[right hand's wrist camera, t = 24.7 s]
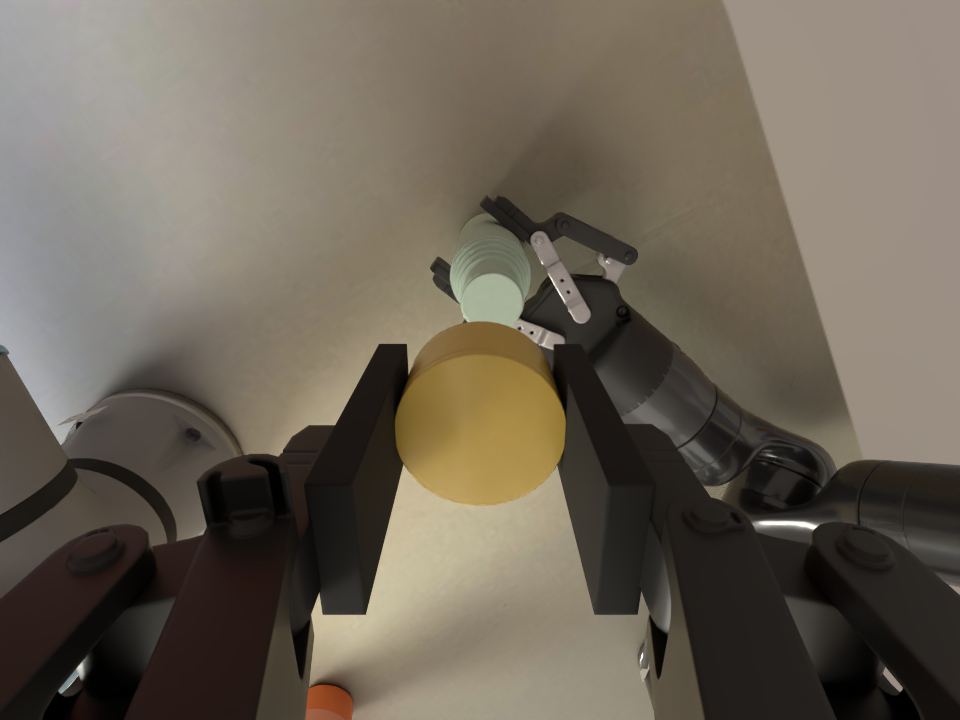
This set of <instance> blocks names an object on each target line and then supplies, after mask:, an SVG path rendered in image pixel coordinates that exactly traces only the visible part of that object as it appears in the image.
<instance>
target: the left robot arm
mask: <svg viewBox="0 0 960 720" xmlns="http://www.w3.org/2000/svg"><path fill="white" fill-rule="evenodd" d="M480 206H481V207H482V208H483V209H484V210H486V211H487V212H488V213H489V214H490V215H491V216H493V217H494V218H495V219H496V220H497V221H498V222H500V223H501V224H502V225H503V226H504V227H505V228H507V229H508V230H509V231H510V232H512V233H513V234H514V235H515V236H516V237H517V238H518V239H520V240H521V241H522V242H523V243H524V242H525V240H526V241H527V242H528V243H529V244H530V245H531V246H532V247H533V249H534V251H535V253H536V254H537V256H538V258H539V260H540V261H541V263H542V265H543V266H544V268H545V270H546V272H547V273H548V275H549V277H547V278H546V279H545V280H544V282H543V283H542V284H541V285H540V287H539V289H538V291H537V293H536V295H534V296H533V297H531V298H530V299H529V300H527V301H526V302H525V303H524V307H523V311H522V313H521V315H520V317H519V318H518V320H517V321H516V322H515V323H514V324H513V327H512V328H514V329H516V330H518V331H520V332H522V333H523V334H525V335H526V336H528V337H529V338H530V339H531V340H533V341H534V342H535V343H536V344H537V346H538V347H539V348H540V349H541V350H542V352H543V353H544V354H545V356H546V358H547V360H548V362H549V364H550V367H551V370H552V364H553V346H554V344H581V345H582V347H583V348H584V350H585V352H586V354H587V356H588V358H589V360H590V361H591V363H592V365H593V367H594V369H595V371H596V372H597V374H598V376H599V378H600V380H601V382H602V384H603V385H604V387H605V389H606V391H607V393H608V395H609V397H610V398H611V400H612V402H613V404H614V406H615V408H616V409H617V411H618V413H619V415H620V417H621V419H622V421H623V422H624V424H653V425H654V426H656V427H657V428H659V429H660V430H661V431H663V432H664V433H666V434H667V435H669V437H670V438H671V440H672V441H673V443H674V444H675V445H676V447H677V448H678V451H680V453H681V454H682V456H683V457H684V459H685V463H688V465H689V466H690V468H691V469H692V471H693V472H694V474H695V475H696V476H697V478H698V479H699V481H700V482H701V484H702V485H703V486H706V487H715V486H720V485H723V484H725V483H727V482H729V484H728V487H727V489H726V491H725V493H724V495H723V497H722V499H721V501H723V502H725V503H728V504H730V505H732V506H734V507H735V508H737V509H738V510H739V511H741V512H742V513H743V514H745V515H746V516H747V518H748V519H749V520H750V522H751V523H752V524H753V526H754V528H755V531H756V532H758V533H761V534H765V535H768V536H772V537H777V538H782V539H787V540H791V541H796V542H801V543H806V544H809V542H810V539H811V535H812V532H813V530H814V529H815V528H816V527H818V526H819V525H820V524H824V523H829V522H843V523H852V524H857V525H861V526H865V527H868V528H871V529H873V530H875V531H877V532H879V533H881V534H883V535H885V536H888V537H890V538H892V539H893V540H895V541H896V542H897V543H899V544H900V545H902V546H903V547H905V548H906V549H907V550H909V551H910V552H911V553H912V554H913V555H914V556H916V557H917V558H918V559H919V560H920V561H921V562H922V563H924V564H925V565H926V566H927V567H928V568H929V569H930V570H932V571H933V572H934V573H935V574H936V575H937V576H938V577H940V578H941V579H942V580H943V581H944V582H945V583H946V584H948V585H953V586H957V587H960V465H949V464H934V463H919V462H903V461H889V460H859V461H854V462H851V463H848V464H846V465H845V466H843V467H842V468H840V469H839V470H838V471H837V469H836V466H835V463H834V461H833V459H832V458H831V456H830V455H829V453H828V452H827V451H826V450H825V449H824V448H822V447H821V446H820V445H818V444H817V443H815V442H813V441H811V440H809V439H806V438H804V437H801V436H799V435H797V434H794V433H791V432H789V431H786V430H784V429H782V428H779V427H777V426H775V425H773V424H771V423H769V422H767V421H765V420H763V419H761V418H759V417H757V416H755V415H753V414H751V413H750V412H748V411H746V410H744V409H743V408H741V407H740V406H739V405H738V404H737V403H736V402H734V401H733V400H732V399H731V398H730V397H729V396H727V395H726V394H725V393H724V392H723V391H722V390H721V389H719V388H718V387H717V386H716V385H715V384H714V383H712V382H711V380H710V379H708V378H707V377H706V375H705V374H704V373H703V372H702V370H701V369H700V368H699V367H698V366H697V365H696V364H695V363H694V361H692V360H691V359H690V358H689V357H688V356H687V355H686V354H685V353H684V352H682V351H681V349H680V348H679V347H678V346H677V345H676V344H675V343H673V342H671V341H670V340H669V339H668V338H666V337H665V336H664V335H663V334H662V333H661V332H659V331H658V330H657V329H656V328H655V327H654V326H653V325H651V324H650V323H649V322H648V321H647V320H646V319H645V318H643V317H642V316H641V315H640V314H639V313H638V312H637V311H635V310H634V309H633V308H632V307H631V306H630V305H628V304H627V303H626V302H625V301H624V300H623V299H622V297H621V295H620V291H619V288H618V286H617V285H616V284H617V282H618V280H619V278H620V277H621V275H622V273H623V271H624V270H625V268H626V266H627V265H631V264H633V263H634V262H635V261H636V260H637V258H638V252H637V250H636V249H635V248H633V247H631V246H630V245H628V244H626V243H625V242H623V241H621V240H619V239H617V238H614V237H612V236H610V235H608V234H606V233H604V232H602V231H600V230H598V229H596V228H594V227H592V226H590V225H588V224H586V223H584V222H582V221H579V220H577V219H575V218H573V217H571V216H569V215H567V214H565V213H563V212H558V213H556V214H555V215H554V216H553V217H552V218H550V219H548V220H546V221H545V222H542V223H536V222H533V221H532V220H531V219H530V218H528V217H527V216H526V215H525V214H524V213H523V212H522V211H520V210H519V209H518V208H517V207H516V206H515V205H514V204H512V203H511V202H510V201H509V200H508V199H507V198H505V197H502V196H499V195H498V196H497V197H496V198H495V200H494V201H493V200H492V199H491V198H489V197H488V196H487V195H486V197H485V198H484V199H483V200H482V202H481V203H480ZM563 235H564V236H566V237H568V238H570V239H572V240H574V241H577V242H579V243H581V244H583V245H585V246H587V247H589V248H591V249H593V250H595V251H597V253H596V256H595V258H596V261H597V262H598V263H599V264H600V265H601V266H602V267H603V275H602V276H597V275H581V274H569V273H568V271H567V269H566V267H565V266H564V264H563V262H562V261H561V259H560V257H559V256H558V254H557V252H556V250H555V248H554V247H553V245H552V243H551V242H553V241H555V240H556V239H558V238H560V237H562V236H563ZM430 269H431V270H432V272H434V273H435V275H434V277H433V281H434V283H435V284H436V286H437V287H438V288H440V289H441V290H442V291H444V292H445V293H446V294H447V295H448V296H450V297H451V298H452V299H454V300H455V301H456V302H457V303H459V302H458V300H457V299H456V297H455V295H454V293H453V290H452V287H451V282H450V269H451V266H450V265H449V264H448V263H447V262H445V261H444V260H443V259H441V258H440V257H437V258H436V260H435V261H434V262H433V263H432V265H431V267H430ZM459 304H460V303H459ZM463 323H467V321H466V319H465V320H464V322H463ZM518 327H519V328H518ZM643 650H644V644H643V645H642V647H641V649H640V651H639V655H638V664H639V667H640V670H641V672H640V676H641V679H642V682H643V681H644V680H645V683H646V687H647V690H648V693H649V696H650V700H651V703H652V706H653V697H652V688H651V678H650V669H649V664H648V669H643V668H641V663H642V656H643ZM653 709H654V707H653Z"/></svg>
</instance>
